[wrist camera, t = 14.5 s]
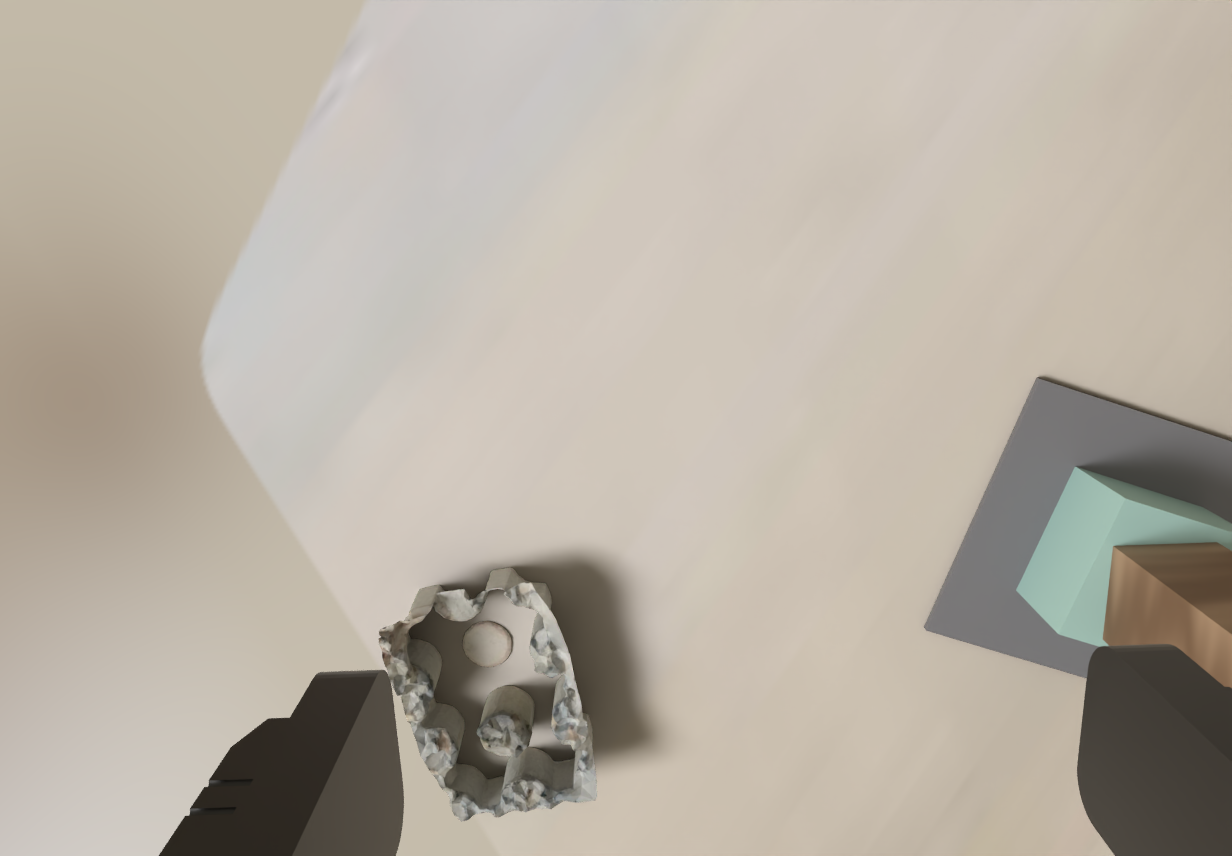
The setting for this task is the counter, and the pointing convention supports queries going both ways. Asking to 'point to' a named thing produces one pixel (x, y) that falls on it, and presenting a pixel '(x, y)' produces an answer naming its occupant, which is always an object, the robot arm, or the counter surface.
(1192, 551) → the pillar
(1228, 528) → the plinth
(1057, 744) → the counter surface
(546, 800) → the egg carton
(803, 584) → the counter surface
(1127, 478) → the mat
